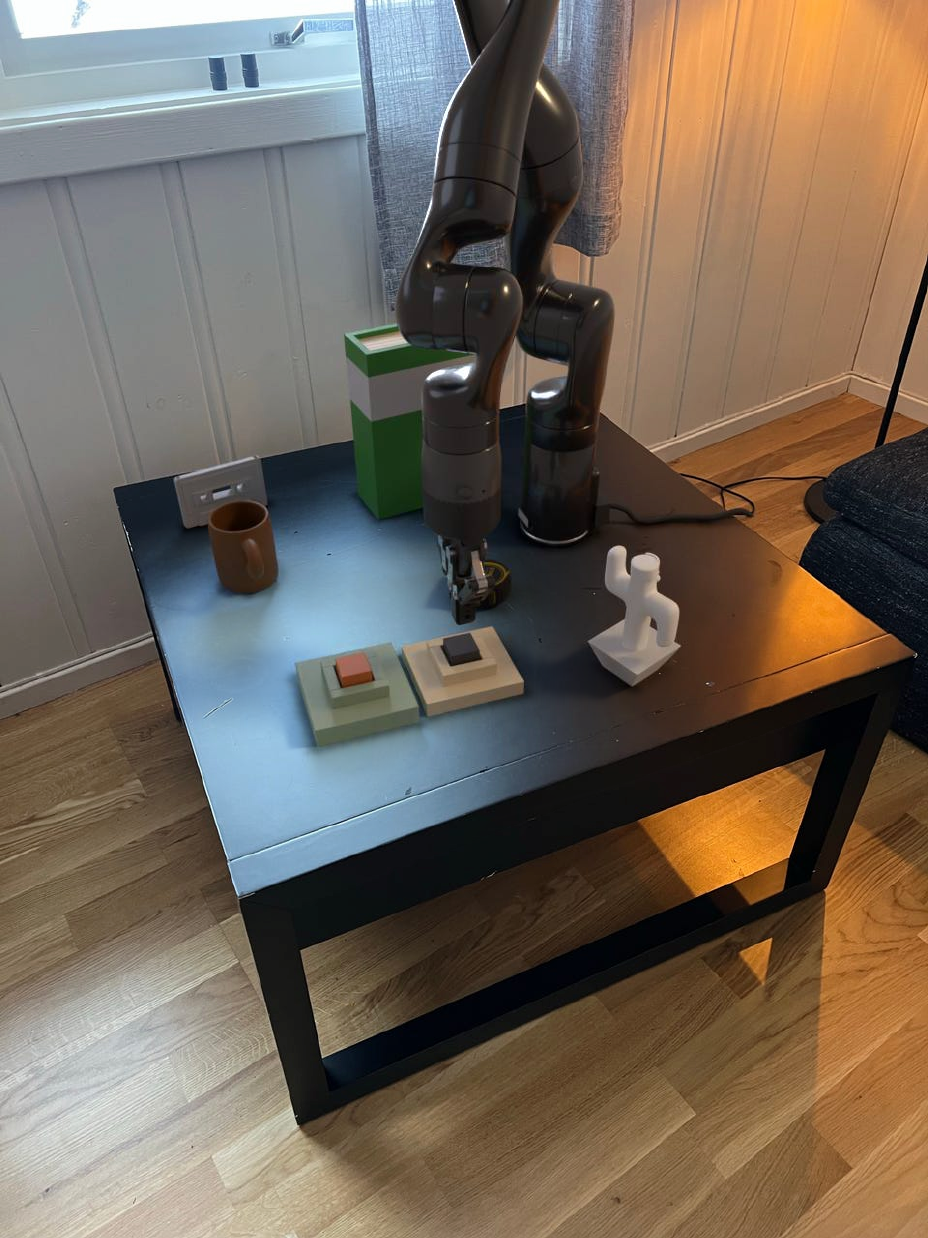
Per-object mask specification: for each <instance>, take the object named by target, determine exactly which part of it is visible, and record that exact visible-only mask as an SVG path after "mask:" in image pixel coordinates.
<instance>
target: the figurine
mask: <svg viewBox="0 0 928 1238" xmlns="http://www.w3.org/2000/svg"><path fill="white" fill-rule="evenodd" d="M605 563H606V564H605V572H604V573H605V574H604V585H605V588H606V589H607V591H608V592H609V593H611V594H613V595H614V596H616V597H617V598H619V599H621V600H622V601H623V602H624V604H625V607H626V608H625V614H624V615H625V616H624V617H625V618H624V619H622V620H620V621H619V622H617V623H615V624H614V625H612V626H610V627H609V628H607V629H605V630H604V631H602V632H600V633H599V634H597V635H595V636H594V637H592V638H591V639H589V640H587V643H588V644H589V646H590V647H591V649H592V651H593V653H594V654H595V656H596V657H597V659H598V661H599V662H600V664H601V666H602V667H603V668H604V669H606V670H608V671H609V672H610V673H612V674H613V675H615V676H616V677H617V678H619V679H620V680H622V681H623V682H625V683H626V684H627V685H629V686H630V687H634V686H635V685H637V684H639V683H640V682H641V681H643V680H644V679H646V678H648V677H649V676H651V675H652V674H654V673H655V672H658V670H660V668H662V666H664V665H665V663H666V662H667V661H668V660H669V659H670V658H672V656H673V655H674V654H675V653H676V652H677V651H678V650H679V649H680V648H681V646H682V645H681V644H678V643H677V642H675V640H676V636H677V630H678V625H679V620H680V608H679V606H678V604H677V602H675V601H673V600H672V599H671V598H668V597H667V596H665V595H664V594H662V593H661V592H658V587H657V585H658V582H660V581H661V576H660V575H659V574H660V572H661V571H660V564H661V560H660V558H659V557H658V556H657V555H656V554H654V553H651V552H645V553H644V554H639V555H635V556H634V557H632V558H631V560H630V574H629V573H628V571H627V565H626V563H627V548H625V546H623V545H616V546H613V547H612V548H610V549H609V551H608V552H607V556H606V562H605ZM652 619H653V620H654V621H655V623H656V629H655V628H653V627H652V626H651V621H652Z"/></svg>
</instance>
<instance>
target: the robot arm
mask: <svg viewBox="0 0 928 1238" xmlns="http://www.w3.org/2000/svg"><path fill="white" fill-rule="evenodd" d="M560 1H561V0H509V1H508V0H452V3H453V7H454V10H455V13H456V17H457V20H458V25H459V28H460V31H461V35H462V39H463V42H464V45H465V49H466V53H467V57H468V61H469V65H470V68H469V70H468V72H466V75H465V76H464V77H463V79H462V81H461V82H460V84H459V85H458V86H457V88H456V90H455V92H454V94H453V95H452V98H451V100H450V102H449V104H448V106H447V108H446V111H445V113H444V116H443V120H442V123H441V126H440V130H439V134H438V140H437V146H436V153H435V163H434V169H433V170H434V171H433V178H432V187H431V194H430V200H429V204H428V208H427V211H426V214H425V218H424V221H423V223H422V226H421V230H420V232H419V235H418V237H417V241H416V242H415V245H414V247H413V250H412V252H411V255H410V257H409V259H408V262H407V264H406V265H405V269H404V271H403V273H402V276H401V279H400V281H399V284H398V288H397V291H396V294H395V300H394V316H395V317H394V318H395V322H396V323H397V326H398V328H399V331H400V333H401V335H402V336H403V338H404V339H405V340H406V341H407V342H408V343H409V344H410V345H412V346H414V347H418V348H422V349H430V350H441V351H452V352H462V353H471V354H475V355H476V361H475V362H473V363H470V364H465V365H459V366H452V367H447V368H443V369H440V370H437V371H435V372H433V373H431V374H430V375H429V376H428V377H427V378H426V379H425V381H424V383H423V386H422V393H421V405H422V424H423V447H422V456H421V466H422V489H423V508H422V509H423V521H424V524H425V525H426V527H427V528H428V529H429V530H430V531H431V532H432V533H434V536H435V540H436V541H435V542H436V545H437V550H438V556H439V559H440V564H441V572H442V574H443V575H444V577H446V578H447V582H446V583H447V588H448V589H449V591H450V593H451V599H450V600H451V601H450V602H451V603H450V605H451V616H452V617H451V618H453V621H454V622H455V624H456V625H457V626H463V625H468V624H471V623H473V622H475V621H476V619H477V618H476V615H477V614H476V609H477V607H476V602H478V601H482V600H485V598H486V597H487V596H488V595H489V594H490V592H491V591H492V590H493V589H494V588H495V579H494V577H493V576H492V575H491V576H489V575H488V574H486V575H485V574H484V561H485V560H486V557H487V556H488V543H487V540H486V537H487V536H488V535H489V534H490V533H491V532H493V531H494V530H496V528H497V526H498V525H499V523H500V521H501V516H502V515H501V512H502V511H501V510H502V508H501V507H502V449H501V444H500V443H501V442H500V413H501V412H500V411H501V410H500V409H501V408H500V407H501V392H502V386H503V380H504V376H505V372H506V368H507V367H506V366H507V363H508V361H509V358H510V357H509V356H510V354H511V350H512V347H513V345H514V343H515V342H514V341H515V340H516V341H517V344H518V346H519V348H520V349H521V351H522V352H523V353H525V355H528V356H531V357H533V358H535V359H538V360H541V361H546V362H550V363H554V364H558V365H561V366H565V367H567V372H566V373H567V374H566V375H565V376H557V377H550V378H547V379H544V380H541V381H538V382H537V383H535V384H534V385H532V386H531V387H530V388H529V390H528V391H527V394H526V398H525V418H524V419H525V420H524V441H523V442H524V443H523V464H522V465H523V466H522V488H521V489H522V490H521V491H522V492H521V508H518V514H517V515H518V517H519V519H520V521H519V529H520V532H521V534H522V535H523V536H524V537H525V538H526V539H527V540H528V541H530V542H532V543H535V544H537V545H540V546H544V547H549V548H563V547H571V546H574V545H576V544H578V543H580V542H582V541H583V540H585V539H586V538H587V536H591V535H594V534H595V528H596V526H599V525H604V524H609V523H610V512H611V509H612V510H617V511H620V512H622V513H624V514H626V515H627V516H628V518H629V519H630V520H631V521H632V522H634V523H637V524H640V525H653V524H658V523H659V524H660V523H664V522H665V523H666V522H670V521H698V522H699V521H705V522H707V521H716V520H717V521H718V520H722V519H725V518H728V517H730V516H735V515H744V516H745V517H746V518H749V519H750V518H751V519H752V518H754V517H755V516H754V514H753V513H752V511H750V510H749V509H747V508H744V507H735V508H731V509H730V508H729V509H727V510H725V511H721V512H717V513H711V514H689V513H687V514H685V513H679V514H678V513H677V514H676V513H674V514H665V515H659V516H654V517H640V516H637V515H636V514H635V513H634V511H633V510H632V509H631V508H630V507H628V506H626V505H624V504H621V503H616V502H612V501H610V500H608V498H607V497H606V496H605V495H604V493H602V491H601V490H600V481H601V480H600V479H601V472H600V470H599V469H598V468H597V467H596V466H595V465H596V455H597V444H598V434H599V423H600V422H599V421H600V413H601V405H602V400H603V398H604V397H603V396H604V394H605V393H604V392H605V389H606V388H605V387H606V383H607V382H606V381H607V375H608V368H609V360H610V353H611V348H612V341H613V335H614V326H615V315H616V314H615V313H616V312H615V311H616V310H615V303H614V299H613V297H612V295H611V293H610V292H609V291H607V290H606V289H604V288H600V287H596V286H591V285H587V284H583V283H578V282H572V281H569V280H563V279H559V278H558V277H557V276H556V275H555V272H554V269H553V264H552V246H553V243H554V241H555V239H556V237H557V235H558V233H559V232H560V230H561V229H562V227H563V225H564V224H565V222H566V221H567V219H568V217H569V216H570V214H571V212H572V211H573V209H574V207H575V205H576V203H577V202H578V201H577V200H578V198H579V195H580V193H581V190H582V186H583V181H584V166H583V165H584V164H583V155H582V146H581V136H580V135H581V134H580V128H579V127H580V125H579V119H578V114H577V111H576V109H575V107H574V105H573V102H572V99H571V98H570V96H569V95H568V93H567V91H566V90H565V88H564V87H563V86H562V84H561V83H560V81H559V80H558V78H557V77H556V76H555V74H553V72H552V71H551V70H550V68H549V66H547V65H546V63H545V62H544V60H545V56H546V52H547V49H548V46H549V42H550V39H551V35H552V32H553V28H554V24H555V21H556V16H557V12H558V8H559V6H560V3H561V2H560ZM502 238H503V241H504V247H505V254H506V263H507V269H506V268H504V267H500V266H494V265H481V264H479V265H477V264H469V263H468V264H467V263H454V262H453V261H454V259H455V258H456V256H457V255H458V254H459V253H460V252H461V251H462V250H463V249H466V248H468V247H471V246H475V245H480V244H485V243H490V242H494V241H497V240H500V239H502Z"/></svg>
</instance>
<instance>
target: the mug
mask: <svg viewBox="0 0 928 1238" xmlns="http://www.w3.org/2000/svg"><path fill="white" fill-rule="evenodd" d="M207 521H208V524H207V529H208V537H209V542H210V547H211V552H212V556H213V560H214V564H215V569H216V573H217V578H218V580H219V583H220V585H221V586H222V587H223V588H224V589H225V590H227V591H228V592H231V593H234V594H238V595H239V594H240V595H249V594H255V593H259V592H261V591H264V590H266V589H268V588H270V587H271V586H272V585H273V584H274V583H275V582H276V580H277V579H278V576H279V563H278V557H277V549H276V544H275V543H276V542H275V537H274V529H273V525H272V520H271V517H270V512H269V510H268V509H267V507H266V506H263V505H262V504H260V503H257V502H254V501H247V500H241V501H233V502H228V503H225V504H223V505H220V506H218V507H217V508H215V509H214V510H213V511H212V512H211V513H210V514H209V516H208V520H207Z"/></svg>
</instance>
